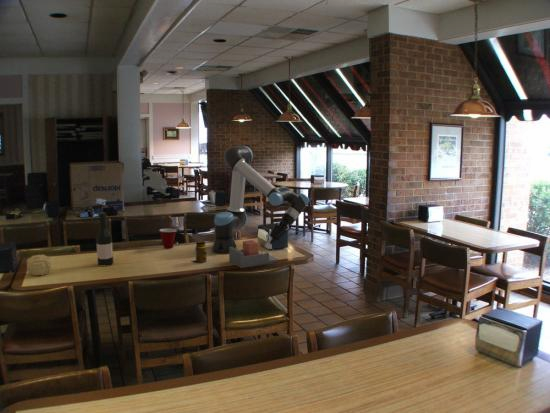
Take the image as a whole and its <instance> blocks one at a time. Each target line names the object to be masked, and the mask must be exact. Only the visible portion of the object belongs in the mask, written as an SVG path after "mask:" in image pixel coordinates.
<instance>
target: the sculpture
mask: <svg viewBox="0 0 550 413" xmlns="http://www.w3.org/2000/svg"><path fill="white" fill-rule="evenodd" d="M50 259H51V258H50V257H49V256H47V255H45V254H36V255H31V257H29V258H28V259H26V268H27V271H28V273H29V274H30V275H31V276H33V275H41V276H43V275H42V274H45V275H47V274H48V273H49V272H50V271H51V268H52V263H51V262H52V261H51V260H50ZM46 273H47V274H46Z"/></svg>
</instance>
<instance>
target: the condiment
mask: <svg viewBox="0 0 550 413" xmlns="http://www.w3.org/2000/svg"><path fill="white" fill-rule="evenodd" d="M195 244H196V245H195V260H190V262H191V263H193V264H195V265H199V264H206V263H205V262H207V263H209V262H210V261H209V260H208V258H207V246H206V245H207V244H206V241H205V240H198V241H196V243H195Z"/></svg>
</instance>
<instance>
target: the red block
mask: <svg viewBox="0 0 550 413" xmlns="http://www.w3.org/2000/svg"><path fill="white" fill-rule="evenodd" d="M242 249H243V253H244V256H249V255H255V254H260V253H259V243H258V242H257V241H255V240H252V239H251V240H250V239H249V240H243V241H242Z"/></svg>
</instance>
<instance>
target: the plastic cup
mask: <svg viewBox="0 0 550 413" xmlns="http://www.w3.org/2000/svg"><path fill="white" fill-rule="evenodd" d="M159 233H160V237H161V242H162V245H163V249H166V250H169V249H170V250H171V249H173V248H174V244H175V239H176V238H175V237H176V233H177V229H176V228H161V229H159Z"/></svg>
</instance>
